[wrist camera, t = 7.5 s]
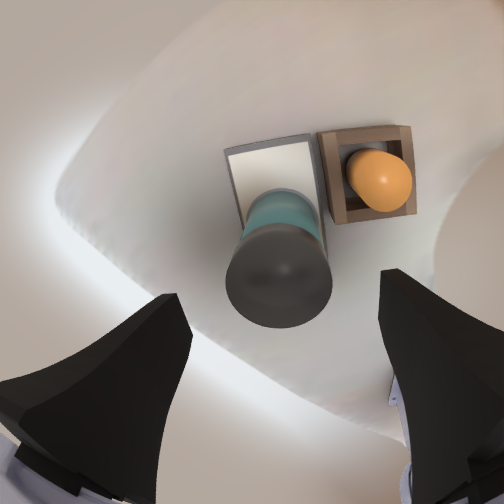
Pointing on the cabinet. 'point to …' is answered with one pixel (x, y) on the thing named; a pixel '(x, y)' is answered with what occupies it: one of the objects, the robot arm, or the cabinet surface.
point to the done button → (379, 179)
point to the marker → (280, 264)
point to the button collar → (338, 204)
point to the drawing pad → (275, 174)
